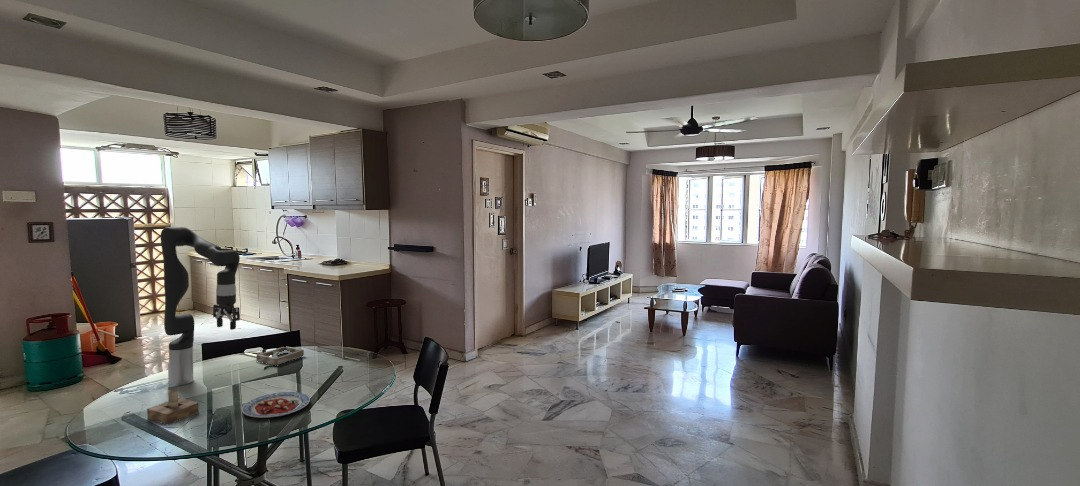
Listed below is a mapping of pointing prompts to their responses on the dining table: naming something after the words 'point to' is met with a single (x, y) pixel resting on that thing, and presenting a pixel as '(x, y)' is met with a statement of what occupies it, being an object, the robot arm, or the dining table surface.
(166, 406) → the socket block
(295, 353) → the figure corral
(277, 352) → the soldier figure
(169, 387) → the dowel
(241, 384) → the dining table surface
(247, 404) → the ceramic plate
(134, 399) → the dining table surface
